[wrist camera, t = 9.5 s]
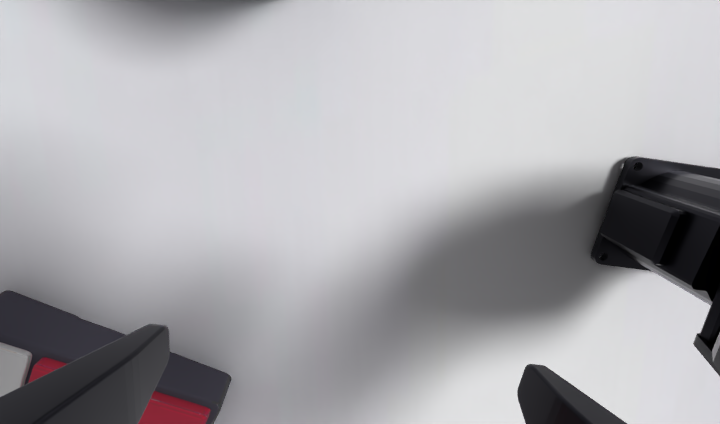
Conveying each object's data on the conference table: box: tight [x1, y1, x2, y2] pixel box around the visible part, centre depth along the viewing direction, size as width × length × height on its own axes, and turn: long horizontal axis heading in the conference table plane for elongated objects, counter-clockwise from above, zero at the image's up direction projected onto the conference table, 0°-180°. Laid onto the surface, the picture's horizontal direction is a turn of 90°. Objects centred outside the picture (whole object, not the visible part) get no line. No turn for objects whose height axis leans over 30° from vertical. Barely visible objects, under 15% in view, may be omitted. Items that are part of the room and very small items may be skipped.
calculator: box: [0, 291, 231, 424], centre depth 23 cm, size 11×4×15 cm
